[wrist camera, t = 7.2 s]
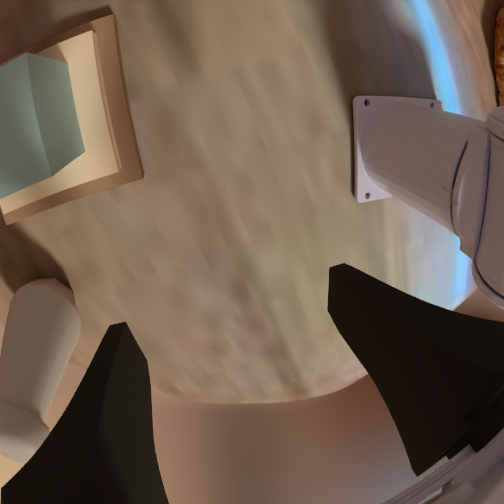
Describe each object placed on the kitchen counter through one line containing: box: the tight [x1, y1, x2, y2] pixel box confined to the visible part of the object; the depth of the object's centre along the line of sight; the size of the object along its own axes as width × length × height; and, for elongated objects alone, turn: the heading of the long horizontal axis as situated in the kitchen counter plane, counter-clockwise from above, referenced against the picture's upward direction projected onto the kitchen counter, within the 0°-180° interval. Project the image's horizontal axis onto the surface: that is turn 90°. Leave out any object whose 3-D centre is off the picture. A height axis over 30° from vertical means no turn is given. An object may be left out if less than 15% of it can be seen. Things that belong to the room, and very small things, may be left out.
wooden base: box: [0, 14, 144, 225], centre depth 12 cm, size 10×10×2 cm
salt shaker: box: [0, 278, 81, 464], centre depth 13 cm, size 6×6×13 cm
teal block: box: [0, 52, 86, 199], centre depth 9 cm, size 5×5×5 cm
